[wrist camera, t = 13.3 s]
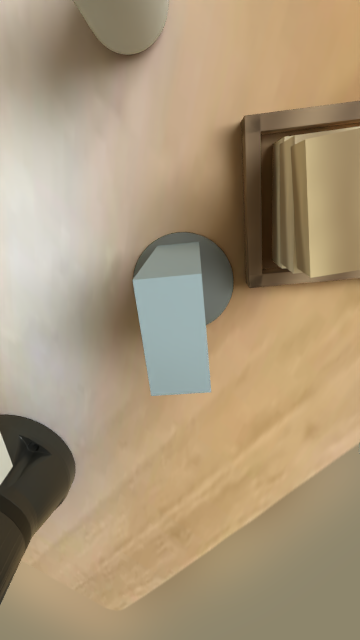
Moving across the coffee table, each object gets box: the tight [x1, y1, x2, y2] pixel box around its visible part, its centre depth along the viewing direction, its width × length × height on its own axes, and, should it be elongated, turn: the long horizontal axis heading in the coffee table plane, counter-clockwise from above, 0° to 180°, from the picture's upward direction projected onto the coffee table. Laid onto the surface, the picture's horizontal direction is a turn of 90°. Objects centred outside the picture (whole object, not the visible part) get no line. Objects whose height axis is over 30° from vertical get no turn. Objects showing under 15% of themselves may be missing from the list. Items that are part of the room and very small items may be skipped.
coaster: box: [133, 232, 233, 325], centre depth 32 cm, size 10×10×1 cm
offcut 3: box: [291, 128, 360, 278], centre depth 20 cm, size 4×8×3 cm, turn 11°
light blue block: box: [133, 242, 211, 396], centre depth 26 cm, size 4×8×13 cm, turn 6°
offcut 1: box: [272, 136, 293, 269], centre depth 27 cm, size 4×10×4 cm, turn 6°
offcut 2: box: [279, 126, 360, 274], centre depth 24 cm, size 4×9×4 cm, turn 7°
